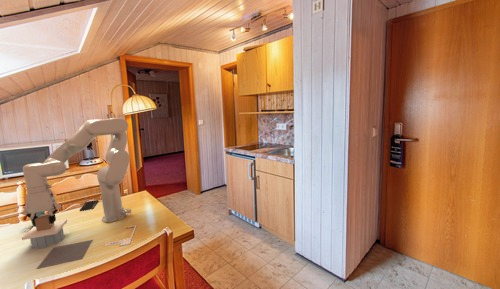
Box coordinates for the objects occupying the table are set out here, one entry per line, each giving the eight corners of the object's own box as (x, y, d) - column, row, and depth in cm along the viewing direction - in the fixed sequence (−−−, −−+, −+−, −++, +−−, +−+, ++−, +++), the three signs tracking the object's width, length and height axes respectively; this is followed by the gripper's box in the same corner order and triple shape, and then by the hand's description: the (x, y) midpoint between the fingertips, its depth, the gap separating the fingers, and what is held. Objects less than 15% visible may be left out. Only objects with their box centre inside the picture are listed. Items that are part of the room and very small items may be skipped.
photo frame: (94, 249, 105) (106, 230, 122) (94, 252, 105) (106, 232, 122) (129, 243, 109) (136, 225, 126) (130, 245, 109) (136, 227, 126)
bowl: (67, 233, 122) (65, 222, 121) (58, 245, 110) (55, 233, 109) (39, 238, 118) (37, 226, 116) (26, 252, 106) (23, 239, 105)
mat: (93, 240, 114) (93, 239, 114) (82, 260, 99) (82, 259, 99) (53, 248, 108) (53, 247, 108) (36, 270, 93) (35, 269, 93)
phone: (98, 199, 165) (93, 207, 151) (98, 201, 165) (93, 209, 151) (85, 201, 162) (79, 210, 148) (86, 203, 162) (79, 211, 149)
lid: (67, 221, 121) (65, 208, 120) (56, 233, 109) (53, 219, 108) (36, 226, 117) (34, 213, 116) (22, 240, 105) (18, 225, 104)
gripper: (63, 183, 116) (69, 217, 119) (19, 189, 110) (27, 224, 113) (56, 188, 109) (63, 223, 112) (9, 194, 103) (18, 231, 106)
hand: (45, 223), depth 112 cm, fingers open, 5 cm apart
